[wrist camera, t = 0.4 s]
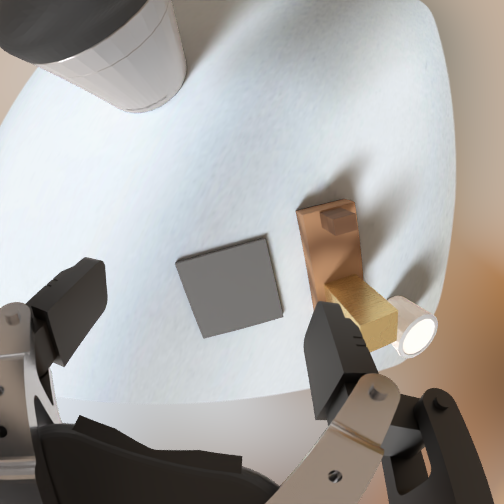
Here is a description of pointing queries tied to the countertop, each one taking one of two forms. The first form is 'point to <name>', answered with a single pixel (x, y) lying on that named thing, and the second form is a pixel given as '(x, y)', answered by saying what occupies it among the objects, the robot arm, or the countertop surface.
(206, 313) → the mat
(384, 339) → the pale wooden block
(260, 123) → the countertop surface
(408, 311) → the white cup
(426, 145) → the countertop surface
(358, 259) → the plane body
